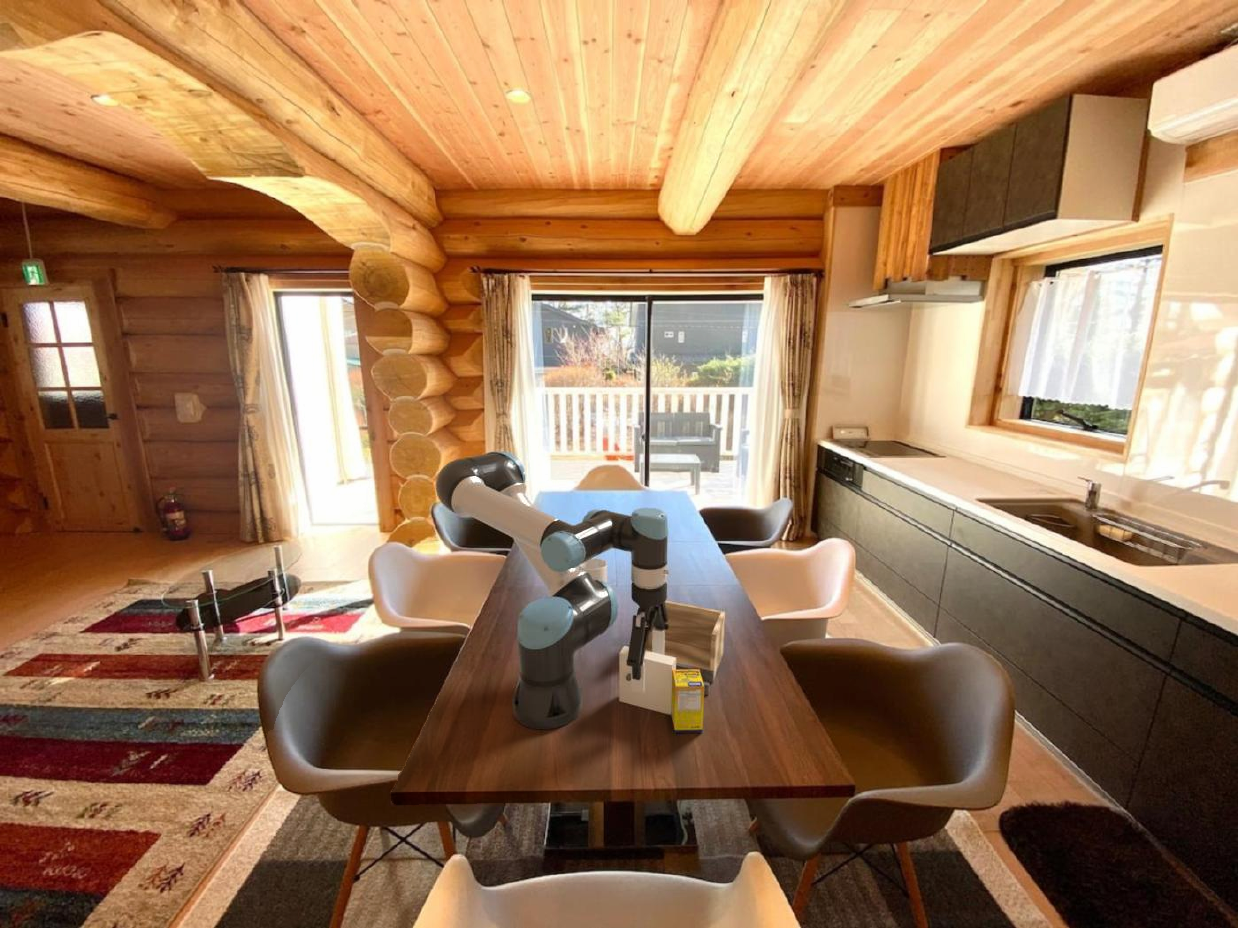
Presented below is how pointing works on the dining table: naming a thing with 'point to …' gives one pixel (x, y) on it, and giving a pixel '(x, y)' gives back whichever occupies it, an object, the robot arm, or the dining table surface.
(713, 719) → the dining table surface
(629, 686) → the door
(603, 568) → the mug
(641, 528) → the robot arm
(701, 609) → the carcass
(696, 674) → the supplement box
